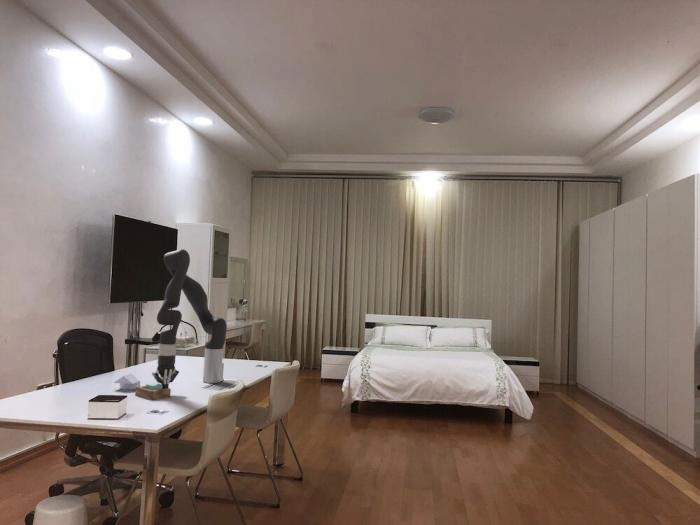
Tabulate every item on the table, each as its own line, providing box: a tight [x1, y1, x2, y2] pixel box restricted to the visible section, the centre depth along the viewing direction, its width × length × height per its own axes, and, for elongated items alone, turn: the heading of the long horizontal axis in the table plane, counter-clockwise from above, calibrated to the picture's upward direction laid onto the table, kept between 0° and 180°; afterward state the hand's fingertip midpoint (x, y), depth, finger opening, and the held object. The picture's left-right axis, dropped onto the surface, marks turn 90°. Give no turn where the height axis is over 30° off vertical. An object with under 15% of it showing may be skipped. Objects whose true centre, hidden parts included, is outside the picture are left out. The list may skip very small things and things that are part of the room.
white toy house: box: [113, 372, 141, 390], centre depth 262 cm, size 9×7×13 cm
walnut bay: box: [134, 385, 172, 401], centre depth 248 cm, size 10×12×4 cm
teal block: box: [145, 382, 162, 390], centre depth 248 cm, size 5×5×5 cm
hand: (164, 392), depth 252 cm, fingers closed
